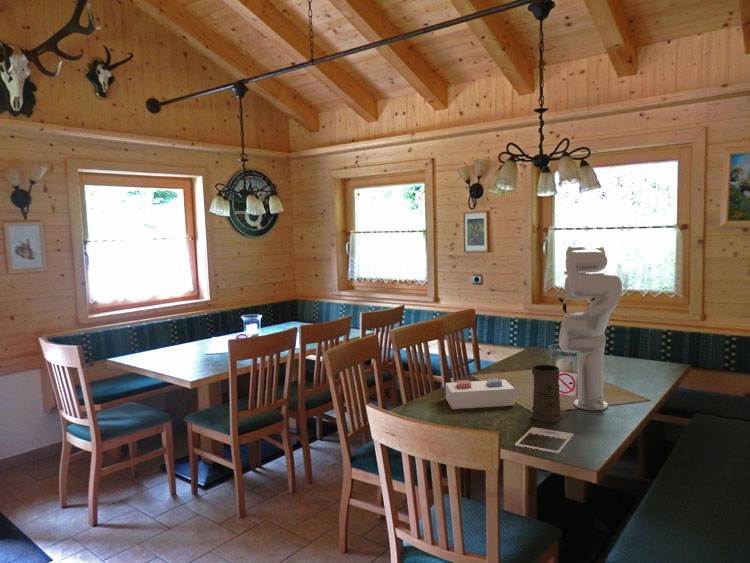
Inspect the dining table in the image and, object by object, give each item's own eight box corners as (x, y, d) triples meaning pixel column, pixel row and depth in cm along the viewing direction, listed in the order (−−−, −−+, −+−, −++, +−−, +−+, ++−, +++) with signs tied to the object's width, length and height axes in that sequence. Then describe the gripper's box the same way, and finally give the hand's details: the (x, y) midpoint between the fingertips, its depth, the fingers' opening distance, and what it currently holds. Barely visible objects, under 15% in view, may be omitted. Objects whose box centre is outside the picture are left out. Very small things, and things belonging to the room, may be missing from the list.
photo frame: (573, 433, 196) (558, 451, 181) (573, 436, 196) (558, 454, 181) (532, 426, 204) (514, 443, 189) (532, 429, 204) (514, 446, 190)
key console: (515, 405, 231) (514, 388, 230) (452, 409, 230) (451, 392, 229) (505, 395, 245) (505, 379, 244) (446, 398, 244) (445, 382, 243)
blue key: (502, 390, 235) (501, 381, 234) (490, 391, 234) (489, 382, 234) (498, 387, 240) (498, 378, 239) (487, 388, 239) (487, 378, 239)
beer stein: (567, 421, 210) (565, 368, 209) (540, 424, 208) (538, 370, 207) (548, 411, 225) (546, 361, 224) (523, 413, 223) (520, 363, 223)
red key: (471, 392, 234) (470, 383, 234) (459, 393, 234) (458, 383, 233) (468, 389, 239) (468, 380, 239) (456, 389, 239) (456, 380, 238)
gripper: (555, 274, 245) (556, 313, 246) (598, 274, 239) (598, 314, 241) (555, 273, 252) (556, 311, 253) (597, 272, 246) (597, 311, 248)
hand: (577, 312), depth 247 cm, fingers open, 9 cm apart
